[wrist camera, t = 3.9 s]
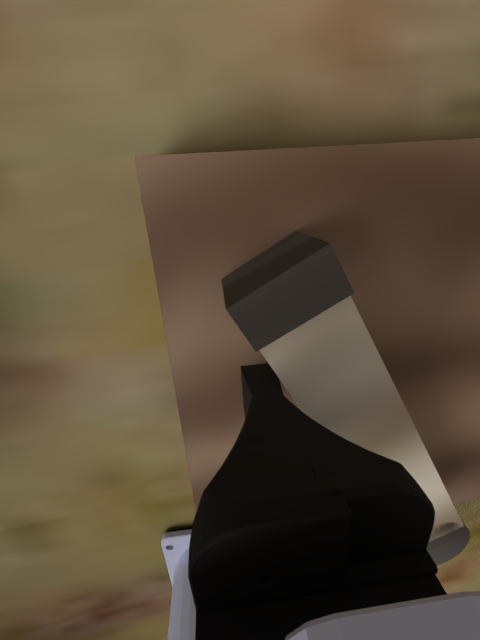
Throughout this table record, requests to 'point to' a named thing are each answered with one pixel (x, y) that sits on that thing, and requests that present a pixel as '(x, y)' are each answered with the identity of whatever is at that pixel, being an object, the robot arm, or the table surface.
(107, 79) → the table surface
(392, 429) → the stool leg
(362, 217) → the stool seat
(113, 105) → the table surface
